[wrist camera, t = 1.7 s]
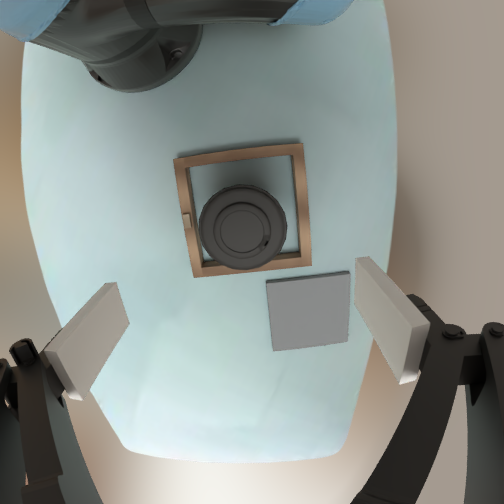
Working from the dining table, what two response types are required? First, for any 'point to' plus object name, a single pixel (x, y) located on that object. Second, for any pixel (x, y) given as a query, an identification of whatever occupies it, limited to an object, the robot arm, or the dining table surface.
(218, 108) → the dining table surface
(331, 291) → the pad
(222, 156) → the wooden square frame
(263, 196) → the coffee cup
